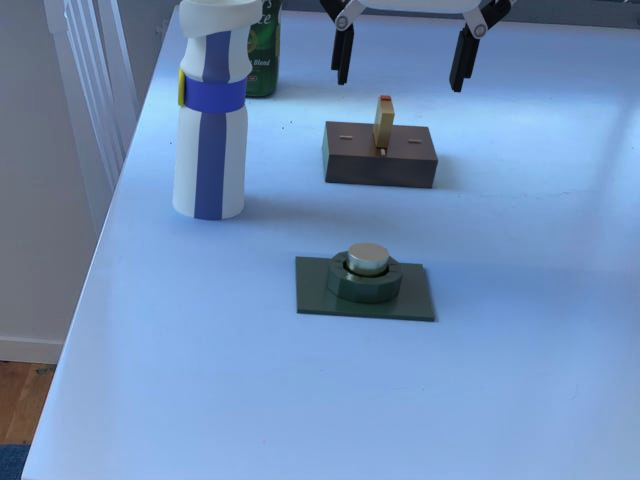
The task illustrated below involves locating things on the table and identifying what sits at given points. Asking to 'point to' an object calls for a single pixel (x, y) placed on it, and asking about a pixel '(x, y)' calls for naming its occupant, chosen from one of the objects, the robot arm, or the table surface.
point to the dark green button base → (361, 290)
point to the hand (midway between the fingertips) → (397, 83)
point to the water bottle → (213, 107)
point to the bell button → (367, 260)
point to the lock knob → (383, 121)
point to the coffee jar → (264, 50)
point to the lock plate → (378, 155)
